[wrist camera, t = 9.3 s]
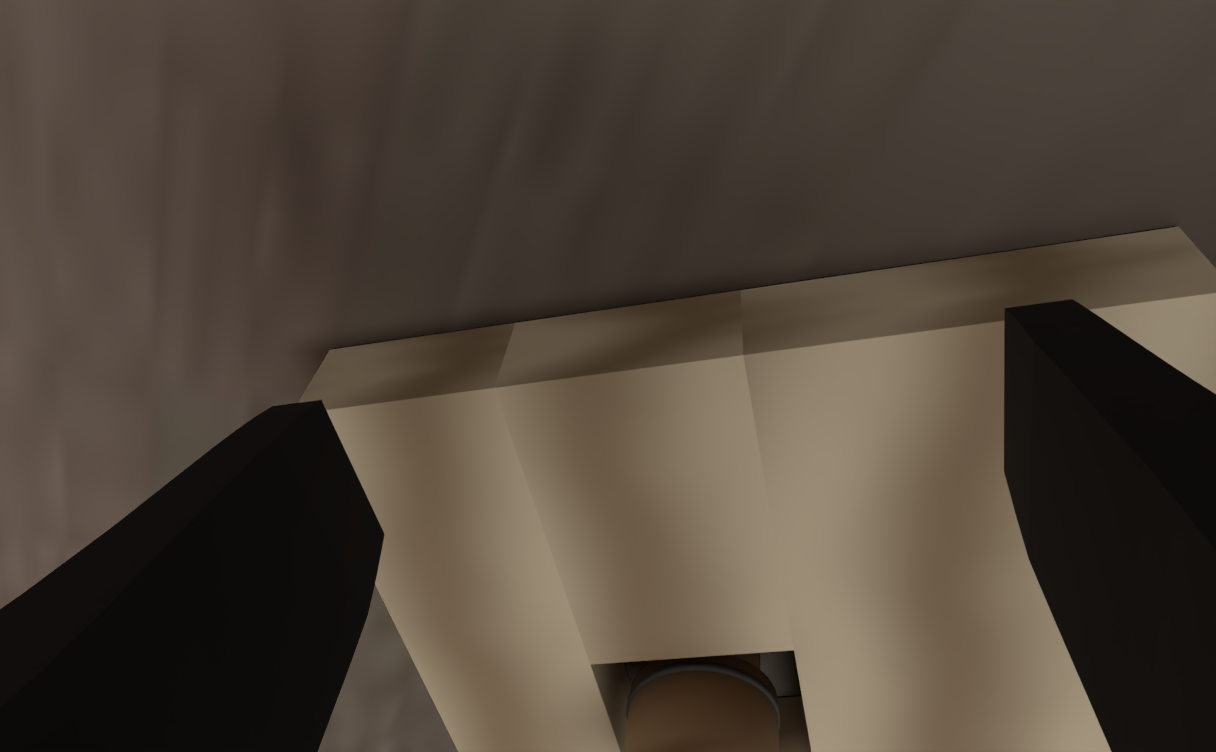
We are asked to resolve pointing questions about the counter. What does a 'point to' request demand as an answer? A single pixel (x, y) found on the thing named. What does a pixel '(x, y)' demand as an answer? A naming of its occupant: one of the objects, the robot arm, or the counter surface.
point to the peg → (703, 706)
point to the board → (742, 499)
